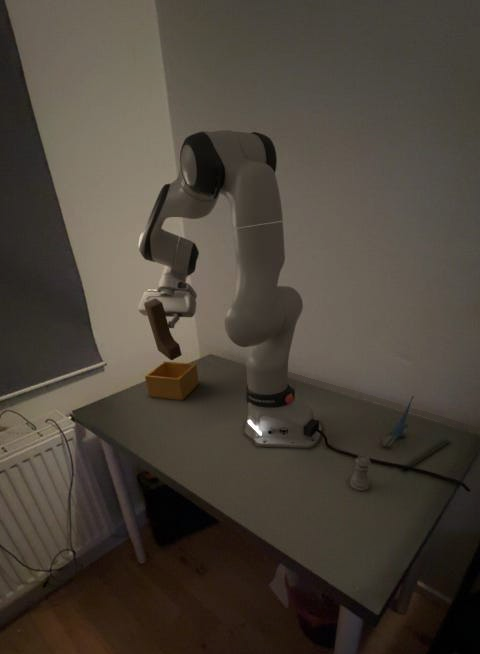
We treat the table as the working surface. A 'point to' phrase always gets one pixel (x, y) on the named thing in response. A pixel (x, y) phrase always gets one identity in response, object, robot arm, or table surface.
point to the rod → (426, 456)
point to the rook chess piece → (361, 474)
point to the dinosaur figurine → (397, 429)
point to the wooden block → (161, 329)
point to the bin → (172, 380)
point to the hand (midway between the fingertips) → (161, 327)
